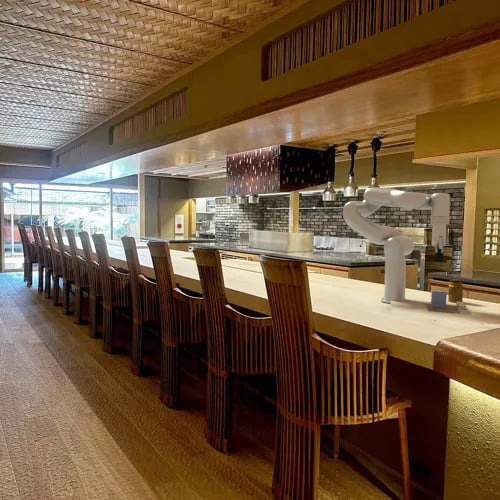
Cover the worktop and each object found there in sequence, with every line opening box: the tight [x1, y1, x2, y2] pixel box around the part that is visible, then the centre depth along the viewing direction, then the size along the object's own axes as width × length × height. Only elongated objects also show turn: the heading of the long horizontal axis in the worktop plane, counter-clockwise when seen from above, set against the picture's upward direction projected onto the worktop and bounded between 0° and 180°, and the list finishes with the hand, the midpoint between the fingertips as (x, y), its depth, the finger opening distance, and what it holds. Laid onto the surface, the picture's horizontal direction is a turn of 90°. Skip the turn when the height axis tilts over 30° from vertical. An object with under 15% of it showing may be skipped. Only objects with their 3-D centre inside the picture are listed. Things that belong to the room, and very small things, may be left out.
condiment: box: [447, 278, 464, 304], centre depth 204 cm, size 7×8×12 cm
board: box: [424, 303, 468, 315], centre depth 187 cm, size 18×16×2 cm
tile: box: [430, 290, 448, 308], centre depth 190 cm, size 2×6×7 cm, turn 73°
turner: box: [455, 301, 472, 315], centre depth 185 cm, size 17×4×2 cm, turn 163°
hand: (438, 261), depth 195 cm, fingers closed
